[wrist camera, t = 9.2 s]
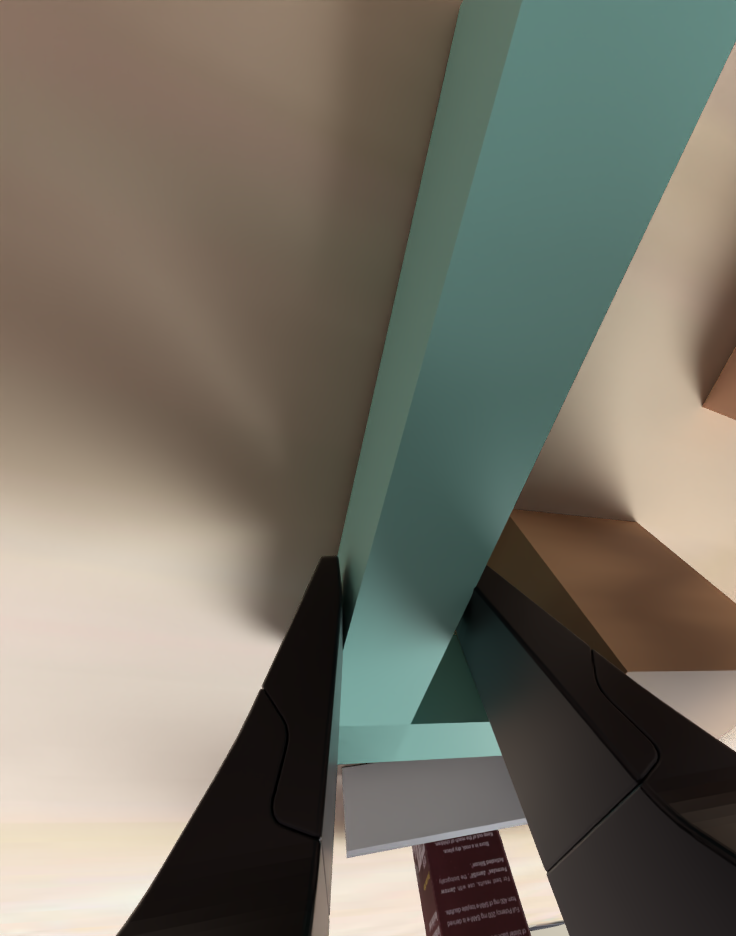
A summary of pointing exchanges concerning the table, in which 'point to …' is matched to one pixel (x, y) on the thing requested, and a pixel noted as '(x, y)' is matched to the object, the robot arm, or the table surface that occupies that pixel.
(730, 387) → the offcut
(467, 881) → the supplement box
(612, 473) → the table surface
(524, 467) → the crook
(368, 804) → the gray angle bracket
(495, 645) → the robot arm
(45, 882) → the table surface
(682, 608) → the block
